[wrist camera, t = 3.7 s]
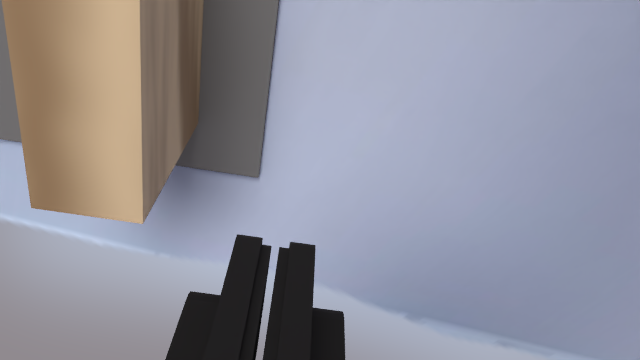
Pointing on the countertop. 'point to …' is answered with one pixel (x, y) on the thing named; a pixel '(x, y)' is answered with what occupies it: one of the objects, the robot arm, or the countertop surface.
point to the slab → (104, 99)
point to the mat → (206, 87)
